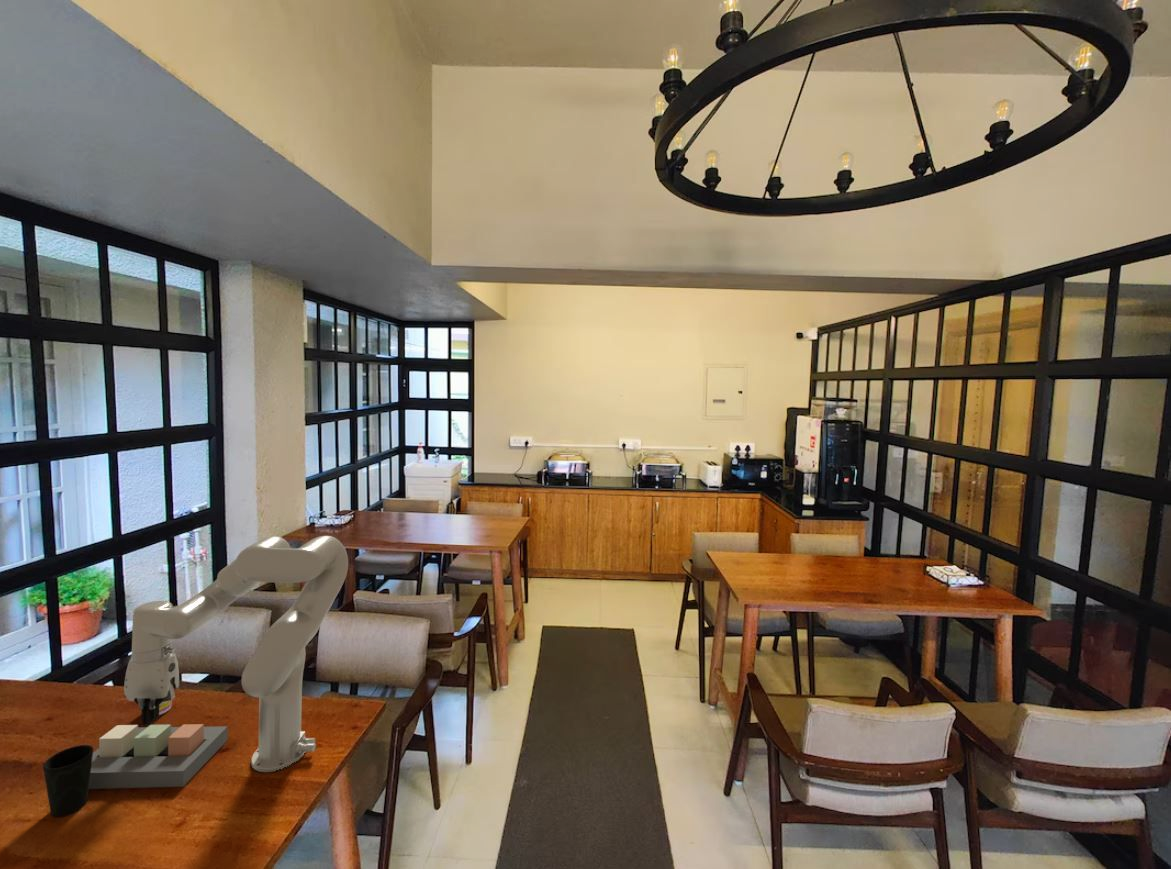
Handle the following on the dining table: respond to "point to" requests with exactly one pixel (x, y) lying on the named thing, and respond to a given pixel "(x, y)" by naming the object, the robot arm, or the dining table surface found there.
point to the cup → (68, 779)
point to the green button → (152, 740)
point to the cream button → (118, 741)
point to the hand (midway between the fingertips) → (150, 721)
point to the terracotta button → (186, 740)
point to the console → (155, 765)
